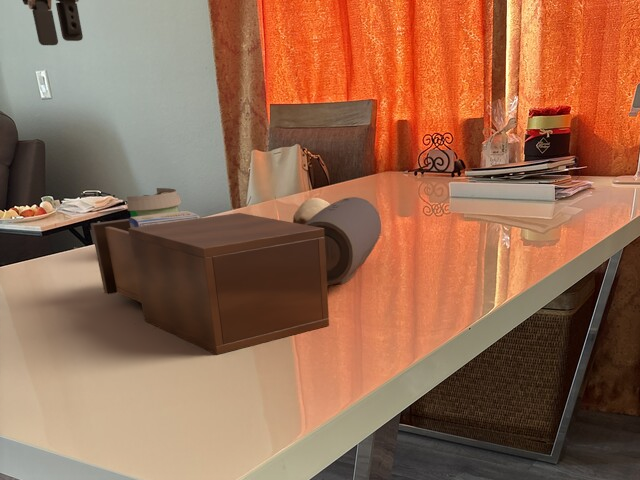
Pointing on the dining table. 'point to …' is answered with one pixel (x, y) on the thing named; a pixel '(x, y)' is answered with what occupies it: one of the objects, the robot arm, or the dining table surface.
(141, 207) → the food container
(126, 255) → the drawer
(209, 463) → the dining table surface
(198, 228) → the cabinet
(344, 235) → the bluetooth speaker
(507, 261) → the dining table surface
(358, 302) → the dining table surface
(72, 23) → the robot arm
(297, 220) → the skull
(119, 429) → the dining table surface
